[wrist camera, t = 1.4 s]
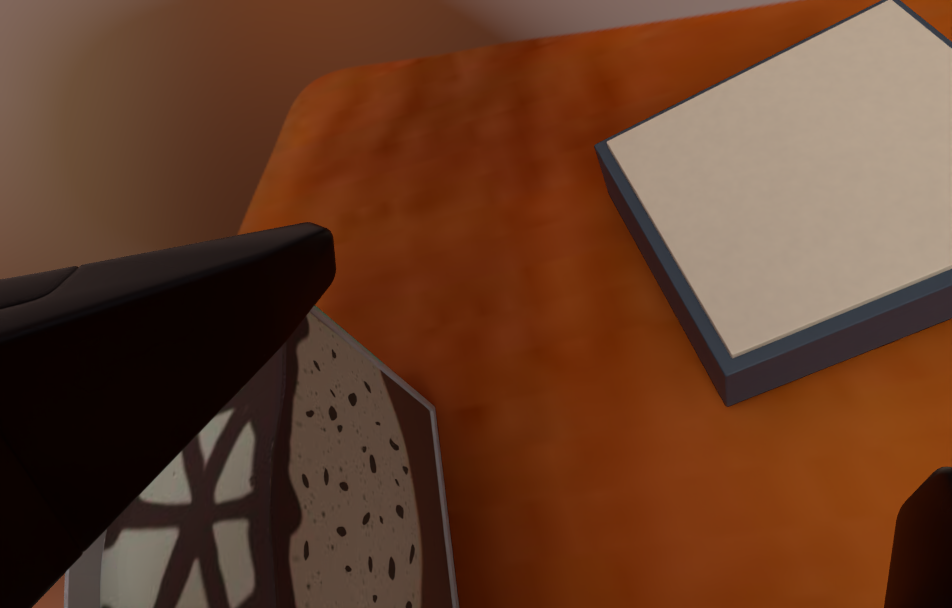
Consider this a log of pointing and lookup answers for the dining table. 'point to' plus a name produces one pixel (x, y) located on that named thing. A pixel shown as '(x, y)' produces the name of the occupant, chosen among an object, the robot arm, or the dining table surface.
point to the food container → (290, 497)
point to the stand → (800, 201)
